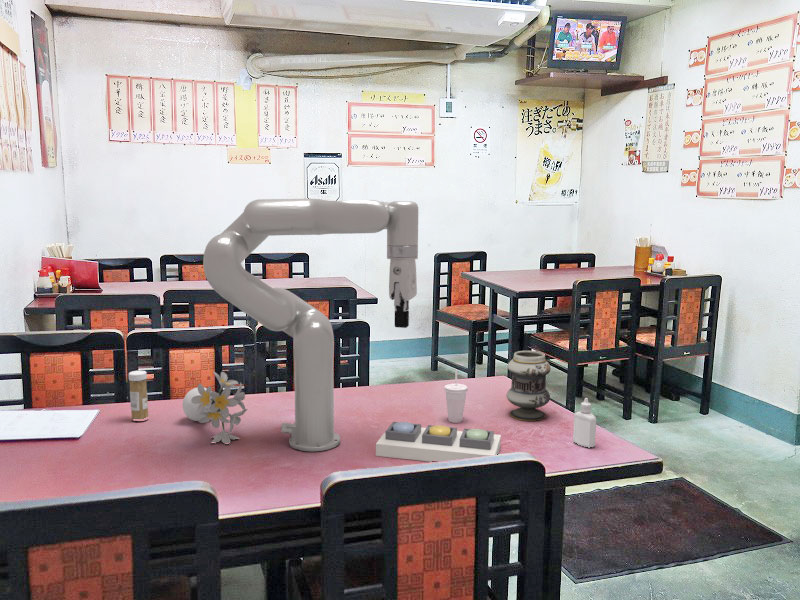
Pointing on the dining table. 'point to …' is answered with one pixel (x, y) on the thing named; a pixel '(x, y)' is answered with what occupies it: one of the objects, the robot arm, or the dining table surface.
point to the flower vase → (215, 406)
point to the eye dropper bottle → (584, 426)
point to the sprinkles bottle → (138, 394)
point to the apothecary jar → (528, 385)
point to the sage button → (477, 434)
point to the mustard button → (439, 430)
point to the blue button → (403, 427)
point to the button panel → (435, 445)
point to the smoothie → (455, 400)
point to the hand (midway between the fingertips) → (401, 326)
